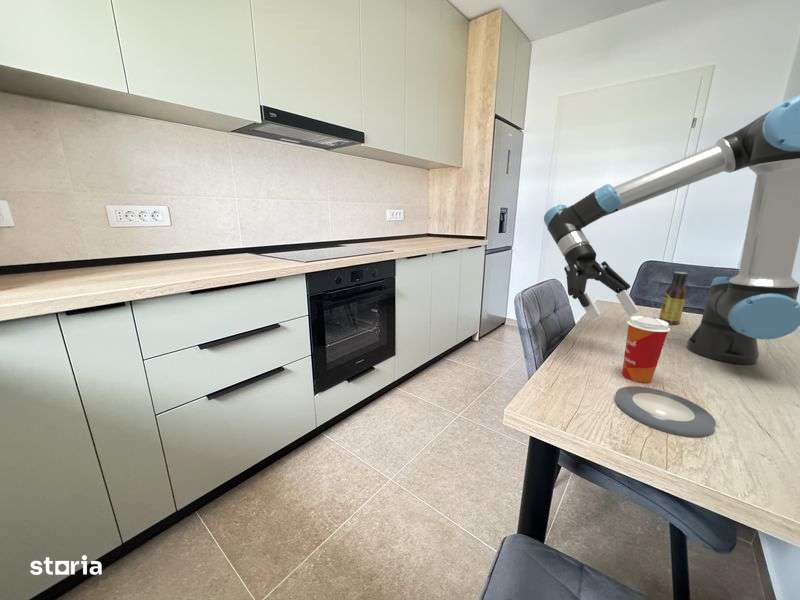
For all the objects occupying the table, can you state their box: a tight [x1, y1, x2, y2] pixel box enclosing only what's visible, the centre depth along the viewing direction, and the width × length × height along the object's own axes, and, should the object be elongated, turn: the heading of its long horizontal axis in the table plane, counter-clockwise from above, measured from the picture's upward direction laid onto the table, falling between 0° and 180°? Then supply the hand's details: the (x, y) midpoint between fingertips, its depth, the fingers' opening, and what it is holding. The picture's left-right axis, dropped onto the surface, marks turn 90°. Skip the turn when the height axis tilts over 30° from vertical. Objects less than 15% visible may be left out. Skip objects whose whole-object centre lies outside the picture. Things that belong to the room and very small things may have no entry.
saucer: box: [614, 385, 717, 438], centre depth 66 cm, size 16×16×1 cm
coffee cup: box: [621, 315, 671, 384], centre depth 78 cm, size 8×8×15 cm
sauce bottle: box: [659, 271, 689, 326], centre depth 122 cm, size 6×6×20 cm
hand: (615, 315), depth 84 cm, fingers open, 13 cm apart
